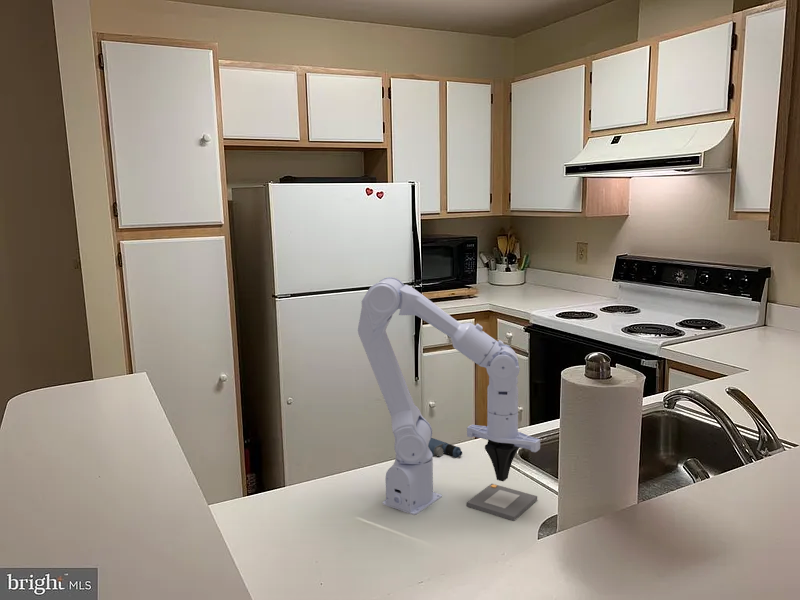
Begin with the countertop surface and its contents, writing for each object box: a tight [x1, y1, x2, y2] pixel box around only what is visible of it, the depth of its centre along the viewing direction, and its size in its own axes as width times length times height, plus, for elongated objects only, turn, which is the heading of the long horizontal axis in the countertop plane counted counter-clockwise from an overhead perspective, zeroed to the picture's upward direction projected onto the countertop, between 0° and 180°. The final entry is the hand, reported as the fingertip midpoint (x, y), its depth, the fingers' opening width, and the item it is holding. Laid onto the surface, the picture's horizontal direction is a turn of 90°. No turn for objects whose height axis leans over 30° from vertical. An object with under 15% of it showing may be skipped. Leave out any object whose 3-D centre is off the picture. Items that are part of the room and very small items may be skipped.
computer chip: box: [465, 483, 538, 522], centre depth 120 cm, size 10×10×1 cm
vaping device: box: [428, 437, 463, 458], centre depth 145 cm, size 3×5×12 cm
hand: (502, 479), depth 119 cm, fingers closed
